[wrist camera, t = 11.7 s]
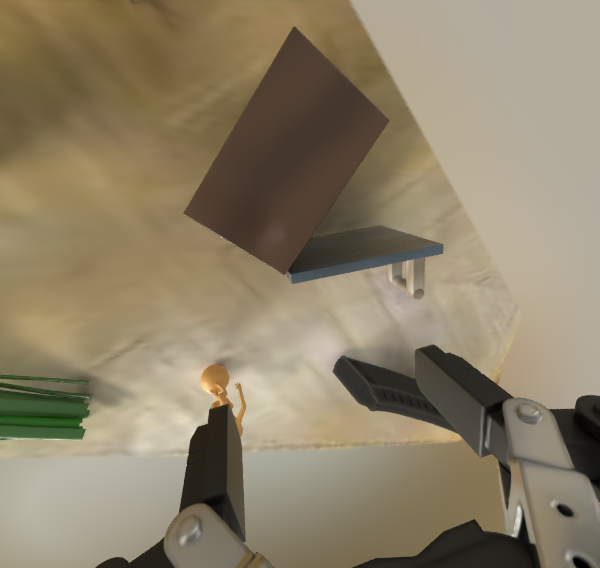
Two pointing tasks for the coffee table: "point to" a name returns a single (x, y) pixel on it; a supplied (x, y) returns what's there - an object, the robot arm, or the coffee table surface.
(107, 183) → the coffee table surface
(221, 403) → the figurine
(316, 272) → the cupboard door
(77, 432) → the daffodil flowers
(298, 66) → the cupboard
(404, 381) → the magazine
